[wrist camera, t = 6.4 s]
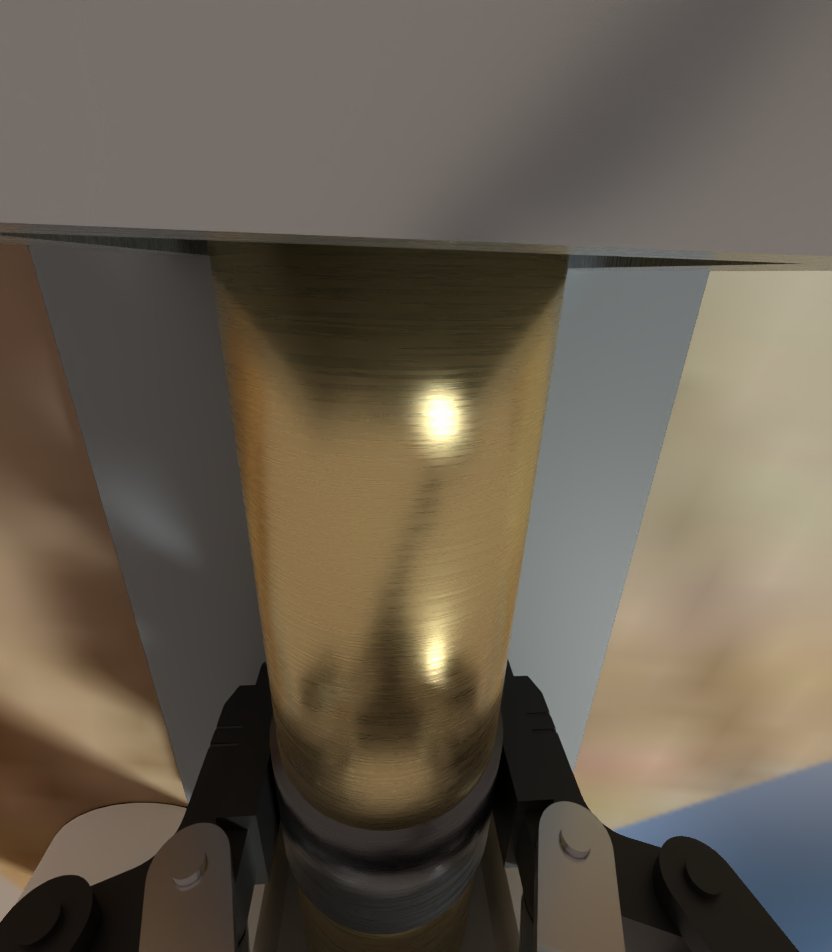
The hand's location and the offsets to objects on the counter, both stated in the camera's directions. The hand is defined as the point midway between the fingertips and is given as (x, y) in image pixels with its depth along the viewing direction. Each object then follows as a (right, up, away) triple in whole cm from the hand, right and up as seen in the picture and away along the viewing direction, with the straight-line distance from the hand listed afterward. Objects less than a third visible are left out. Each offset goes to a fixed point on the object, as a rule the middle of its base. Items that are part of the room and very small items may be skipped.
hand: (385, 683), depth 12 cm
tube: (0, +3, -1) cm, 4 cm away
